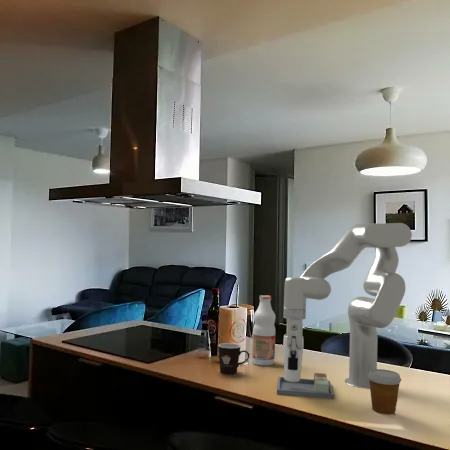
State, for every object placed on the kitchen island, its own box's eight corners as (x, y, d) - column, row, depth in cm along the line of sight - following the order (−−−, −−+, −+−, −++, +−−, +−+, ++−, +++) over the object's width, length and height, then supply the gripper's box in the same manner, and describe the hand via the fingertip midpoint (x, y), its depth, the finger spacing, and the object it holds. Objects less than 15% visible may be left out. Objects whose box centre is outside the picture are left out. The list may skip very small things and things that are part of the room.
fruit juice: (248, 361, 189) (250, 294, 190) (267, 359, 193) (269, 294, 194) (258, 366, 180) (260, 297, 182) (278, 365, 184) (280, 297, 185)
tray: (329, 387, 157) (329, 380, 157) (333, 402, 142) (333, 394, 142) (278, 383, 159) (278, 376, 159) (276, 397, 144) (276, 389, 145)
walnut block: (325, 385, 156) (325, 373, 156) (326, 388, 152) (326, 376, 152) (313, 384, 156) (314, 372, 157) (314, 387, 152) (314, 375, 153)
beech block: (326, 389, 151) (326, 377, 152) (327, 392, 147) (327, 380, 148) (314, 388, 152) (314, 376, 152) (315, 391, 148) (315, 379, 148)
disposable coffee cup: (366, 416, 130) (366, 374, 131) (367, 406, 139) (368, 367, 140) (400, 422, 127) (401, 379, 128) (400, 411, 136) (401, 371, 137)
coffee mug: (212, 371, 171) (213, 345, 172) (227, 367, 177) (228, 342, 178) (235, 378, 163) (236, 350, 164) (250, 374, 170) (251, 347, 170)
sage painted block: (327, 393, 147) (327, 381, 147) (328, 397, 143) (328, 384, 143) (315, 392, 148) (315, 380, 148) (315, 396, 144) (316, 383, 144)
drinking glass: (288, 376, 156) (290, 332, 157) (305, 380, 152) (307, 336, 152) (278, 380, 151) (279, 335, 151) (295, 384, 146) (297, 338, 147)
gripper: (306, 318, 143) (304, 375, 142) (304, 311, 160) (303, 361, 159) (283, 316, 144) (280, 373, 143) (283, 309, 161) (282, 360, 161)
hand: (292, 366), depth 151 cm, fingers closed on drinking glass, 6 cm apart
